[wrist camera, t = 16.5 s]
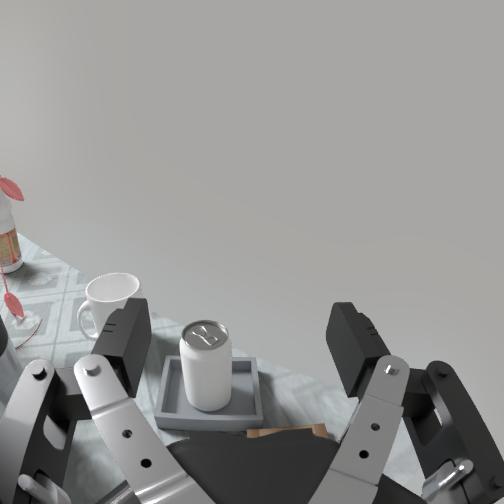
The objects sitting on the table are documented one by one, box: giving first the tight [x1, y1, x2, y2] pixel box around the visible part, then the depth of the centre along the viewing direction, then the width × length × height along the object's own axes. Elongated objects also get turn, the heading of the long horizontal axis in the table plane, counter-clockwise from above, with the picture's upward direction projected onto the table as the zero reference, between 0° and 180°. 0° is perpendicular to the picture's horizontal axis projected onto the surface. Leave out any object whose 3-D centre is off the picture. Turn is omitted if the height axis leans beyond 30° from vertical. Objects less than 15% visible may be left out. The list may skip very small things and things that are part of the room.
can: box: [180, 320, 232, 411], centre depth 37 cm, size 6×6×12 cm
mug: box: [77, 273, 143, 341], centre depth 46 cm, size 9×12×12 cm
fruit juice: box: [0, 175, 23, 273], centre depth 63 cm, size 9×9×28 cm
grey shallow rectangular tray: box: [154, 355, 264, 432], centre depth 39 cm, size 14×12×3 cm
